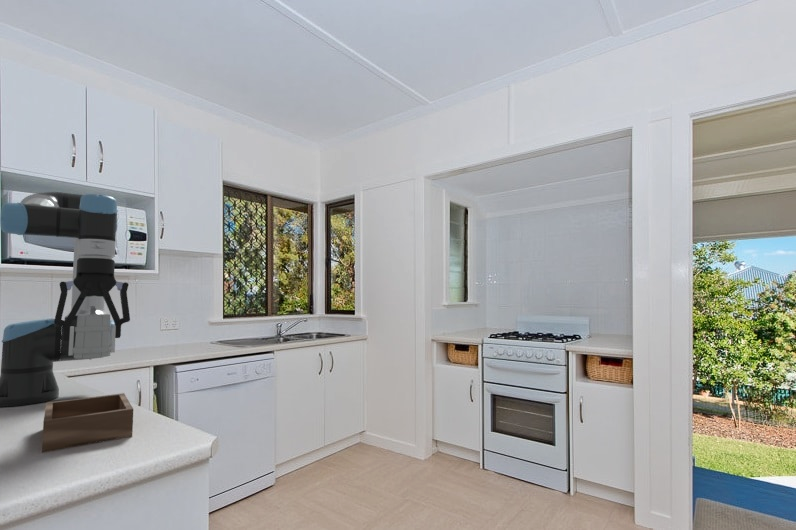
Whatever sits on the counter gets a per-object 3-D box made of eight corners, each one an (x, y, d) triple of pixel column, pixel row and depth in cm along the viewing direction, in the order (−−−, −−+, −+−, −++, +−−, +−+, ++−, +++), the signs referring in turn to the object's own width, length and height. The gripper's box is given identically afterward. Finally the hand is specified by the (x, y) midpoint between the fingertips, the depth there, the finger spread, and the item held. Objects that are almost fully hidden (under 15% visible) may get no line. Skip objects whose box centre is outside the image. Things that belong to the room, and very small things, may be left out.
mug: (72, 360, 95) (74, 306, 96) (71, 355, 104) (74, 305, 105) (113, 356, 100) (115, 305, 101) (109, 352, 109) (111, 305, 110)
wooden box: (44, 428, 99) (46, 402, 100) (123, 417, 109) (124, 393, 109) (41, 452, 85) (43, 421, 85) (132, 436, 94) (133, 408, 95)
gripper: (41, 254, 95) (35, 358, 93) (146, 259, 107) (143, 351, 105) (42, 257, 101) (37, 355, 99) (142, 261, 113) (138, 348, 111)
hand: (91, 353), depth 102 cm, fingers closed on mug, 7 cm apart
